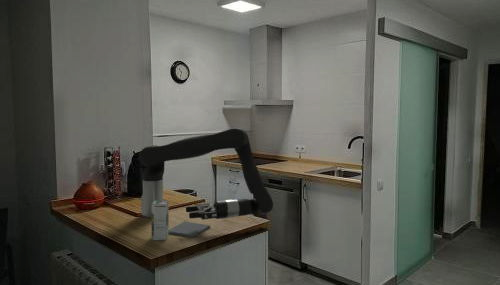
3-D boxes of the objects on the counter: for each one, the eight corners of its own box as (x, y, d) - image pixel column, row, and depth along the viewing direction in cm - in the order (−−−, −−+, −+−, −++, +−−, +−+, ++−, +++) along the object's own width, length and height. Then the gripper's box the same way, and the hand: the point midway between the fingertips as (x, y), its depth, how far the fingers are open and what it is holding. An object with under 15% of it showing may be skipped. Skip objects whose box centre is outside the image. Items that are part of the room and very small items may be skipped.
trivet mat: (166, 233, 141) (166, 230, 141) (184, 223, 153) (184, 221, 153) (193, 238, 136) (193, 235, 136) (210, 227, 148) (210, 225, 148)
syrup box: (154, 235, 138) (153, 200, 137) (169, 234, 139) (168, 199, 137) (151, 240, 133) (150, 204, 131) (166, 240, 133) (166, 203, 132)
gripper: (222, 195, 150) (184, 199, 144) (231, 204, 136) (190, 208, 131) (222, 212, 151) (185, 216, 145) (231, 222, 137) (190, 227, 132)
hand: (187, 212), depth 138 cm, fingers open, 8 cm apart
